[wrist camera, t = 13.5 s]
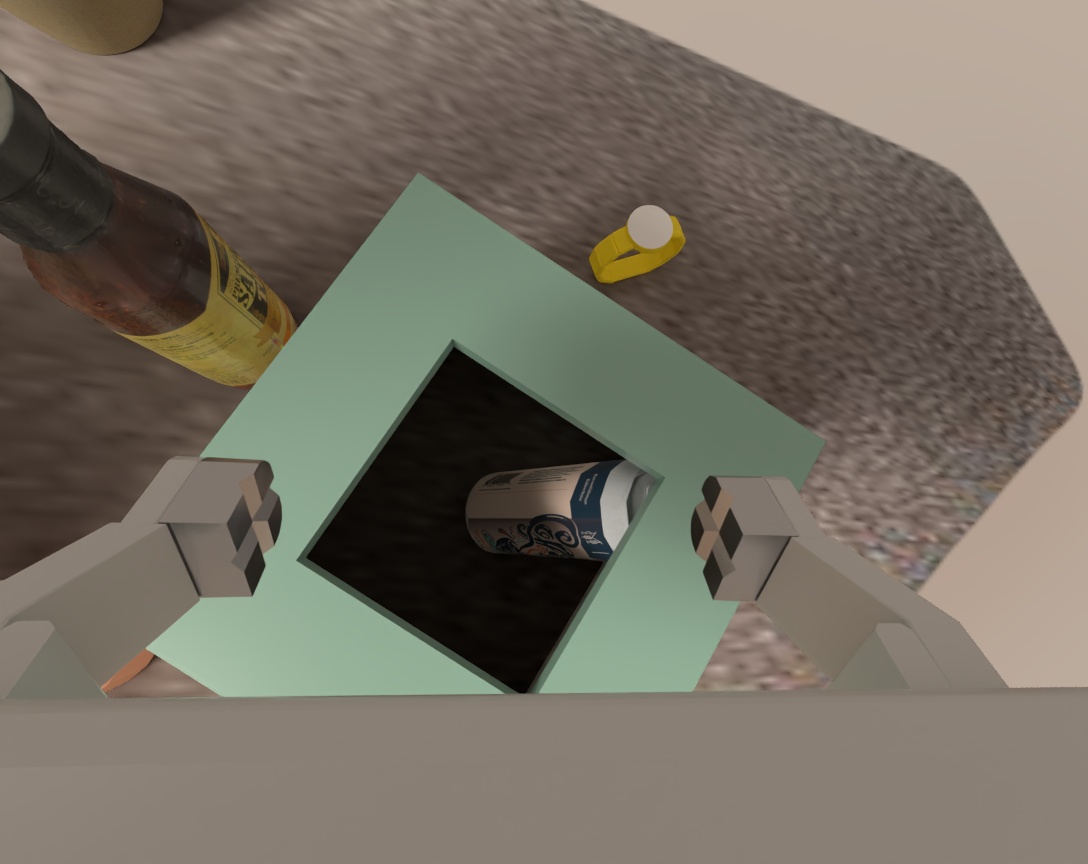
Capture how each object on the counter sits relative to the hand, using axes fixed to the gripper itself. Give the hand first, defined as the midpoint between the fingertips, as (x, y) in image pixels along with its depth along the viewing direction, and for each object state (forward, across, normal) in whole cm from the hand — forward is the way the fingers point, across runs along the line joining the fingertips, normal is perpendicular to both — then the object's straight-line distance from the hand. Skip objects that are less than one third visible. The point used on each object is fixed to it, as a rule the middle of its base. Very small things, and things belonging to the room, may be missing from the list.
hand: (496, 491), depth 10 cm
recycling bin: (+17, 0, +18) cm, 24 cm away
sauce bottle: (+24, +15, +11) cm, 30 cm away
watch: (+29, -9, +6) cm, 31 cm away
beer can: (+16, 0, +17) cm, 23 cm away
